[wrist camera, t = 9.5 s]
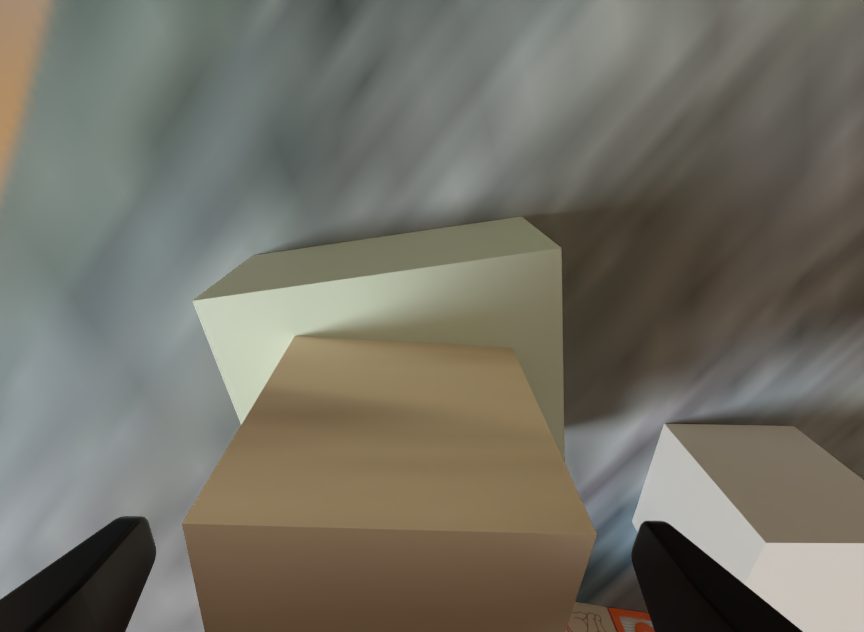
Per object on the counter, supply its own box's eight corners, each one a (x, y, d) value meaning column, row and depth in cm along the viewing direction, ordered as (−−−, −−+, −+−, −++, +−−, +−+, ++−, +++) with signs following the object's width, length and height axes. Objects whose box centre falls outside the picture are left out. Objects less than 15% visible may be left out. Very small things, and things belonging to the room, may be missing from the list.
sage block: (530, 428, 16) (565, 518, 12) (320, 457, 16) (291, 553, 12) (519, 214, 13) (561, 247, 9) (256, 252, 13) (192, 300, 9)
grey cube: (746, 521, 18) (860, 655, 13) (631, 520, 18) (706, 657, 13) (792, 424, 16) (945, 543, 11) (662, 422, 16) (766, 542, 11)
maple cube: (484, 506, 12) (528, 742, 7) (303, 500, 11) (229, 744, 7) (512, 348, 10) (596, 535, 5) (294, 335, 10) (181, 524, 5)
